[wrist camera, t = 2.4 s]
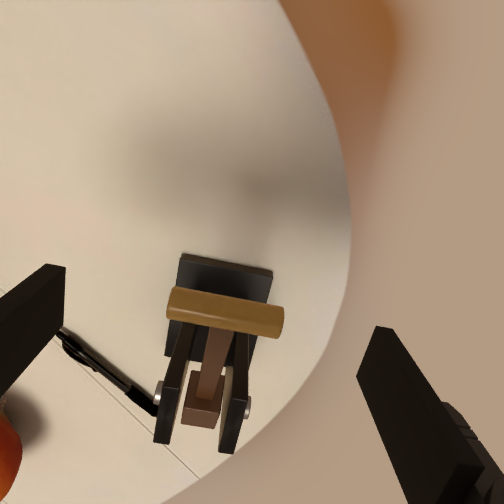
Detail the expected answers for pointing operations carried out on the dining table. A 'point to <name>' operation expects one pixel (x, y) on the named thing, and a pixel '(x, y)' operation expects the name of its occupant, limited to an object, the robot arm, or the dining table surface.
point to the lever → (217, 343)
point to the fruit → (8, 453)
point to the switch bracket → (194, 342)
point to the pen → (105, 372)
